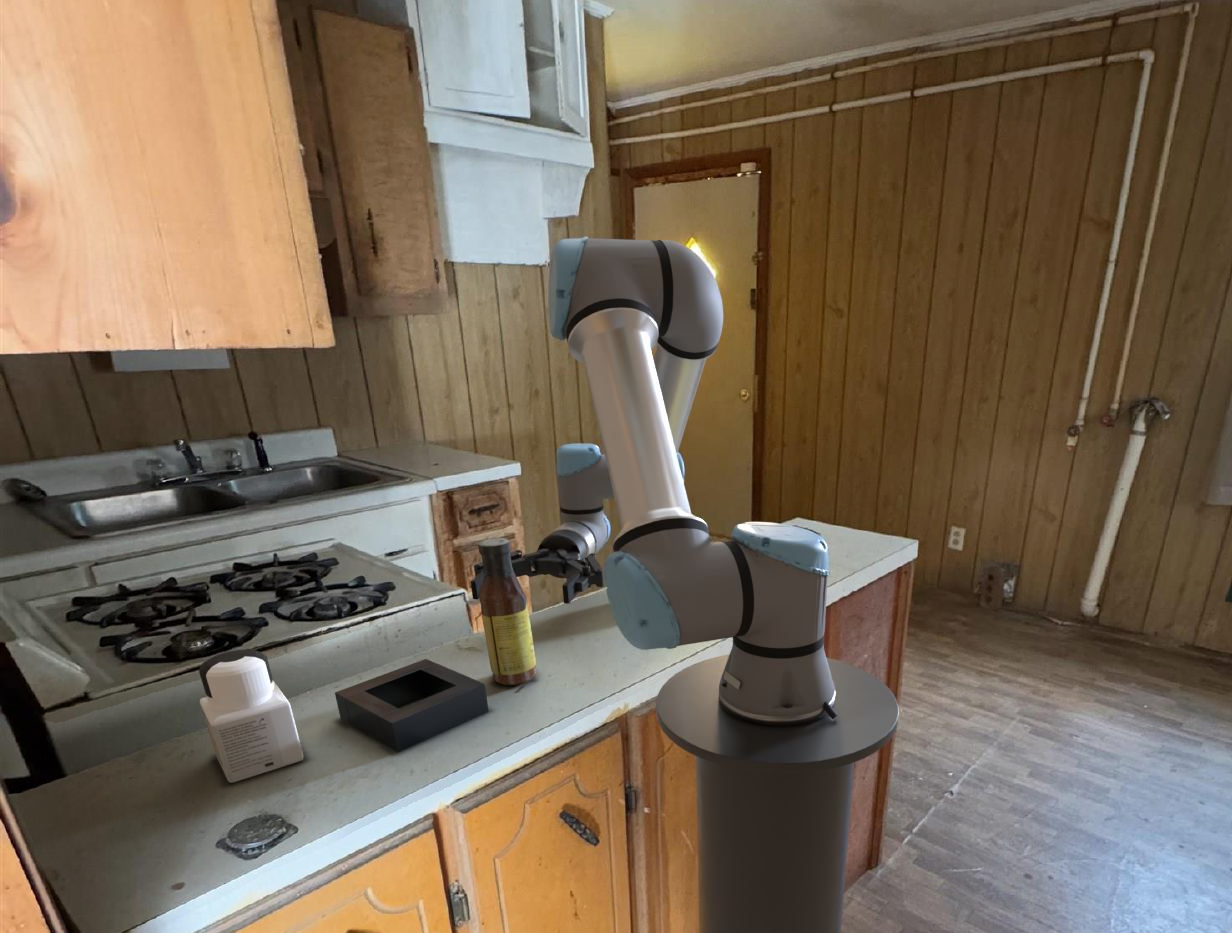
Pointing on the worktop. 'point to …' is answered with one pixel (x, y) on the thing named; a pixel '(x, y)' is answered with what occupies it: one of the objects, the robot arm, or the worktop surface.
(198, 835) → the worktop surface
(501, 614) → the sauce bottle
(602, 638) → the worktop surface
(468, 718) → the black square socket
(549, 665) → the worktop surface
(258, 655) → the container
